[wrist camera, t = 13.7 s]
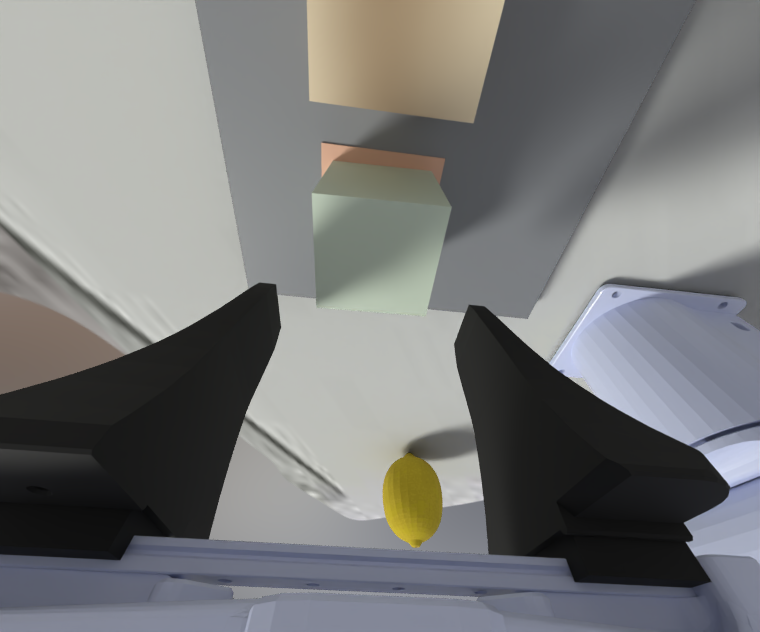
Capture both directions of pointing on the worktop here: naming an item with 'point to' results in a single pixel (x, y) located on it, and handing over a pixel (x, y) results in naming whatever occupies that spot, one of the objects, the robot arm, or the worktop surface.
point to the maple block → (402, 54)
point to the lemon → (412, 499)
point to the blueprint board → (438, 138)
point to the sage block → (377, 237)
